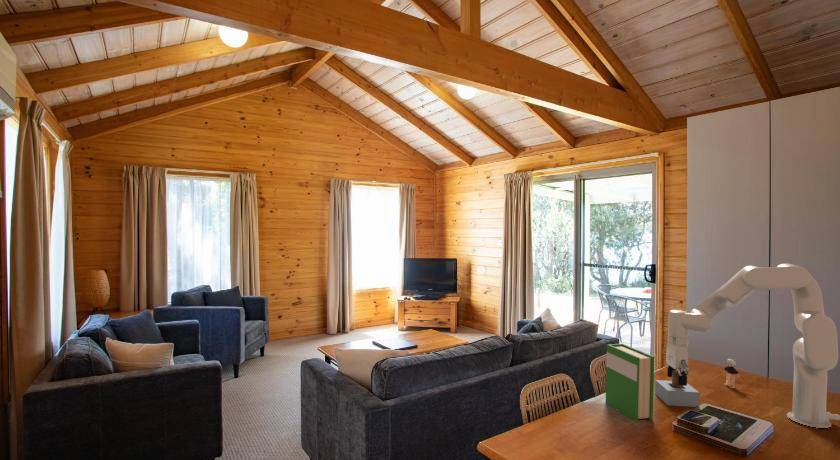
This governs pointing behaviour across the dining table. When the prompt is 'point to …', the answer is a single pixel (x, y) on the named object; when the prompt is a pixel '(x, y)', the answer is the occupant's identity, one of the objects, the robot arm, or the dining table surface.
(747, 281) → the robot arm
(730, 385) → the grandmother figurine
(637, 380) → the hardback book
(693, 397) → the socket block
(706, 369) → the dining table surface
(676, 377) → the peg
